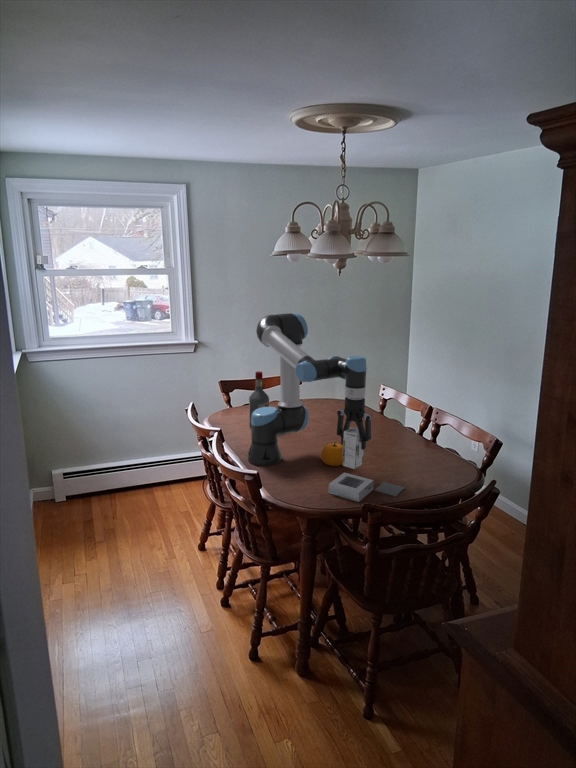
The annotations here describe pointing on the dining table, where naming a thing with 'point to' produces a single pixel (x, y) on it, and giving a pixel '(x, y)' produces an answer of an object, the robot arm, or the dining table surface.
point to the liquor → (257, 396)
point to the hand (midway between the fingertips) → (352, 454)
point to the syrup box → (351, 448)
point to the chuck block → (355, 494)
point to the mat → (389, 489)
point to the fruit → (332, 454)
